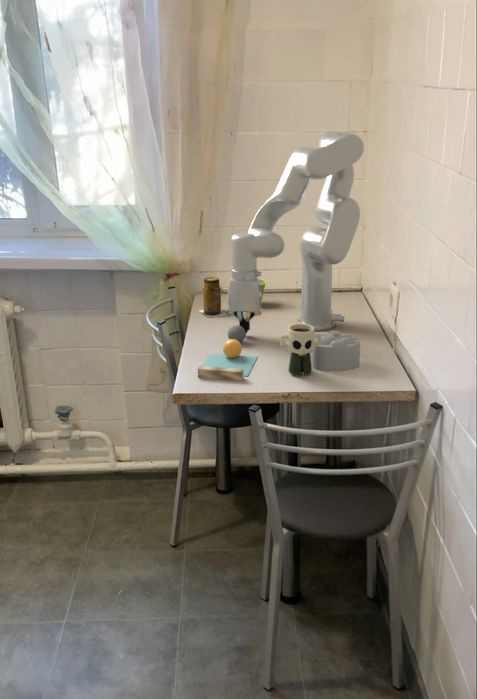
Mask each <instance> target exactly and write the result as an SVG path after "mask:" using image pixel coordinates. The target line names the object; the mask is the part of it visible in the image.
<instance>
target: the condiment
mask: <svg viewBox="0 0 477 699" xmlns="http://www.w3.org/2000/svg"><path fill="white" fill-rule="evenodd" d="M221 288H222V287H221V286H220V279H219V277H215V276H214V277H213V276H211V277H209V276H208V277H205V278H204V279H203V287H202V290H203V291H202V293H203V294H202V298H203V299H202V303H203V304H202V305H203V309H201V310H200V309H199V310H198V312H200V313H201V314H203V315H204V316H205V317H207V318H214V317H221V316H226V315H228V314H229V313H226V312H225V311H222V291H221V290H222V289H221Z"/></svg>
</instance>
